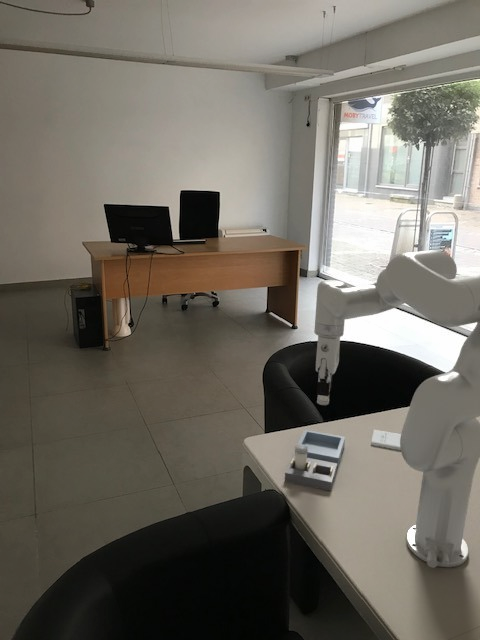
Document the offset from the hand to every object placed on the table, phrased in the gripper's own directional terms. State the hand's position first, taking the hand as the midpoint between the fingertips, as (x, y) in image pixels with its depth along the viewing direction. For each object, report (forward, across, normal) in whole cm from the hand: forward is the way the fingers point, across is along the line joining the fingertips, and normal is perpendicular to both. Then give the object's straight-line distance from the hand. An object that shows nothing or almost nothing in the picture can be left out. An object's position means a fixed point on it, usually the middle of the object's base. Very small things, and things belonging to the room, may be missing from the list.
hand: (324, 391), depth 142 cm
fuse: (+20, -11, +3) cm, 23 cm away
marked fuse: (+3, 0, 0) cm, 3 cm away
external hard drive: (+20, +15, -20) cm, 32 cm away
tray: (+20, +2, 0) cm, 20 cm away
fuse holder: (+20, -11, 0) cm, 23 cm away
